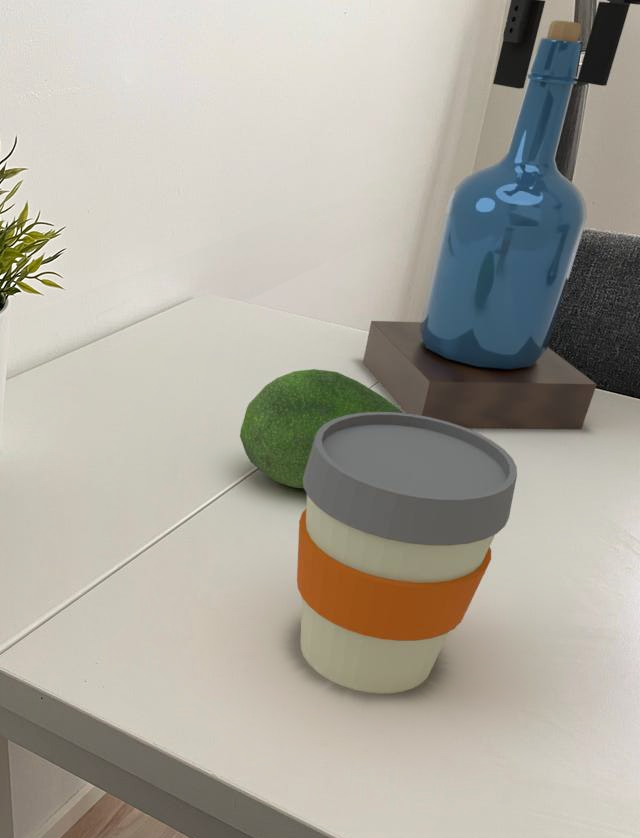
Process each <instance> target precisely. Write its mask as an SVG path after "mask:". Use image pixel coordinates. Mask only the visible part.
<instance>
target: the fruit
mask: <svg viewBox="0 0 640 838" xmlns="http://www.w3.org/2000/svg"><path fill="white" fill-rule="evenodd" d="M365 412H396V413H404V411H403V410H401V409H399V408H398V407H397V406H396V405H394V404H393V403H392V402H391V401H389V400H388V399H386V398H385V397H383V396H382V395H381V394H380V393H378V392H377V391H374V390H373V389H372V388H369V387H368V386H366V385H364V384H363V383H361V382H359V381H358V380H355V379H354V378H351V377H350V376H346V375H344V374H342V373H339V372H338V371H332V370H325V369H318V368H317V369H316V368H312V369H304V370H303V369H302V370H297V371H296V370H295V371H292V372H290V373H286V374H285V375H282V376H279V377H276V378H275V379H273V380H272V381H271V382H269V383H268V384H266V385H265V386H264V387H263V388H262V389H261V390H260V391H259V392H258V393H257V395H256V396H254V398H253V399H252V400H251V401H250V402H249V403H248V404H247V407H246V410H245V414H244V418H243V421H242V424H241V427H240V433H239V438H240V441H241V444H242V446H243V449H244V451H245V454H246V457H247V458H248V459H249V461H250V463H251V464H252V465H254V467H256V468H257V469H258V470H259V471H260V472H261V473H263V474H264V475H266V476H267V477H268V478H269V479H271V480H272V481H274V482H276V483H279V484H281V485H285V486H287V487H290V488H294V489H295V488H296V489H304V486H303V476H304V473H305V469H306V466H307V463H308V459H309V456H310V453H311V449H312V446H313V443H314V439H315V436H316V434H317V431H318V430H319V429H320V428H321V427H322V426H323V425H324V424H325V423H327V422H329V421H331V420H333V419H335V418H338V417H342V416H345V415H350V414H356V413H365Z"/></svg>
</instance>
